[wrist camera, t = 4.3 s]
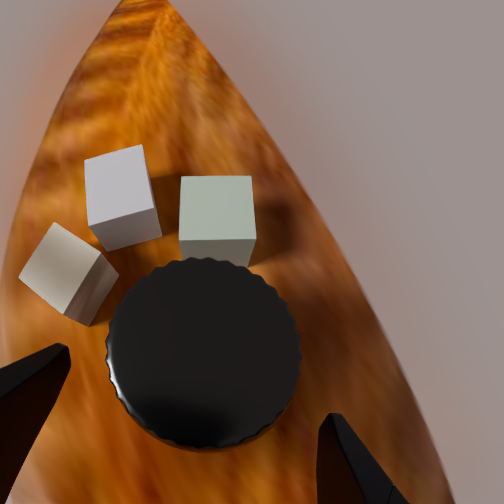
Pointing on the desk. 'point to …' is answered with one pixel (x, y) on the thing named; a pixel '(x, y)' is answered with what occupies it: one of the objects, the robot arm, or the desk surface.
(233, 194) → the sage block
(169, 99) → the desk surface
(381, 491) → the robot arm
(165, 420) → the supplement bottle
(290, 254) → the desk surface
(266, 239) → the desk surface
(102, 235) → the grey plastic block
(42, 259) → the birch block
